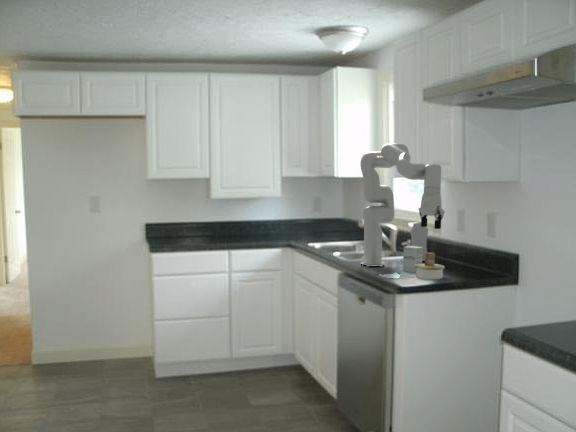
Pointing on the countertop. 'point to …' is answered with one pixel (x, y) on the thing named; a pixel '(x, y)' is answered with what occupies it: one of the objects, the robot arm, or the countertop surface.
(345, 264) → the countertop surface
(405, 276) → the mat
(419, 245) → the tall pale column
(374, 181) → the robot arm
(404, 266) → the supplement box
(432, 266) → the lid
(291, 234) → the countertop surface
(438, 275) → the bowl
